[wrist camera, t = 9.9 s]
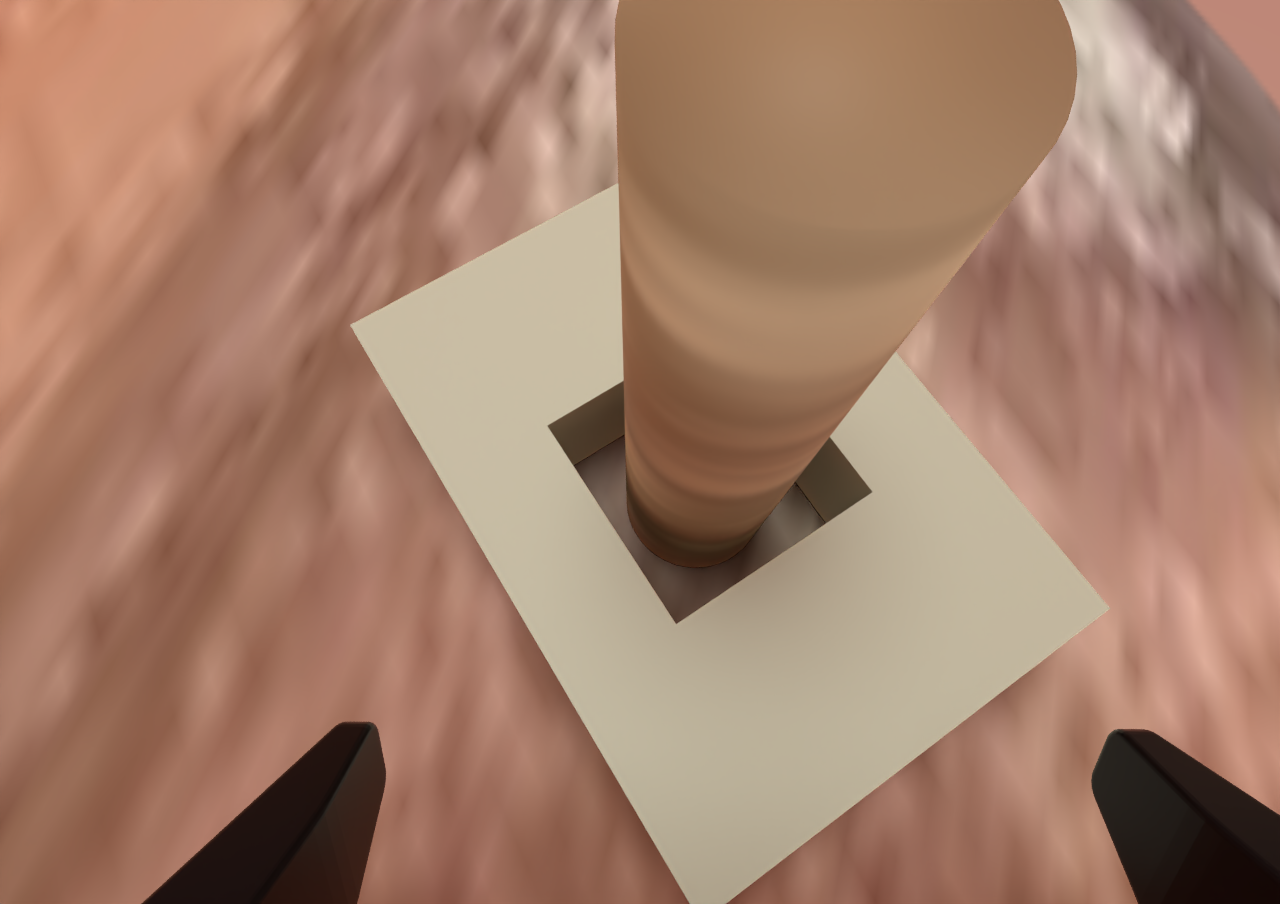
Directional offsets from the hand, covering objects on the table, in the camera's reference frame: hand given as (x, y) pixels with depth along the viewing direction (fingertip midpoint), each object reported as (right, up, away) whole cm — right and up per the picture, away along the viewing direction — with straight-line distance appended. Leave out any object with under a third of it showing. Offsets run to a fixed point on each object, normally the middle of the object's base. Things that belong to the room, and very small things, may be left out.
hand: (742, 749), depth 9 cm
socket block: (0, +2, +10) cm, 10 cm away
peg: (0, +2, +10) cm, 10 cm away
